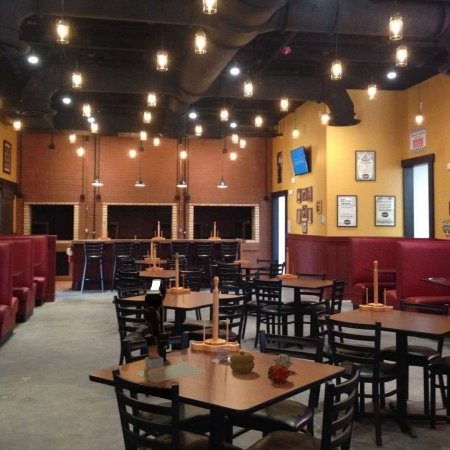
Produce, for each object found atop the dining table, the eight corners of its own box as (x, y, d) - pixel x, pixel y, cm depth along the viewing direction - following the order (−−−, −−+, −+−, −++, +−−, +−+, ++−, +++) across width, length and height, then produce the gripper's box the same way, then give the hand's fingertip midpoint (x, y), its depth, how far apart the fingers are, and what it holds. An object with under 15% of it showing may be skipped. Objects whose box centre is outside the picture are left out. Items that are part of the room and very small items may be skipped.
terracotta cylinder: (146, 357, 242) (146, 346, 242) (156, 355, 244) (156, 345, 245) (152, 359, 238) (151, 348, 238) (161, 357, 240) (161, 346, 241)
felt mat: (131, 373, 246) (131, 372, 246) (182, 364, 263) (182, 363, 263) (154, 383, 228) (154, 382, 228) (207, 372, 245) (207, 371, 245)
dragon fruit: (265, 388, 224) (286, 387, 231) (277, 379, 219) (298, 379, 226) (260, 369, 229) (280, 369, 236) (271, 360, 224) (292, 360, 231)
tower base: (144, 374, 241) (143, 366, 242) (157, 372, 246) (157, 363, 246) (151, 378, 236) (151, 369, 236) (164, 375, 240) (164, 366, 240)
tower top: (145, 366, 241) (145, 357, 242) (156, 364, 245) (156, 355, 245) (151, 368, 237) (151, 359, 237) (163, 366, 240) (163, 357, 240)
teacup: (220, 358, 276) (220, 346, 276) (239, 360, 269) (239, 348, 269) (206, 362, 266) (206, 350, 266) (225, 365, 259) (225, 353, 259)
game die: (283, 379, 245) (277, 365, 240) (274, 369, 252) (268, 355, 247) (298, 368, 247) (293, 354, 242) (289, 359, 255) (283, 344, 250)
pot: (250, 368, 252) (250, 347, 252) (258, 374, 241) (257, 352, 241) (227, 370, 249) (226, 349, 250) (233, 376, 238) (233, 354, 238)
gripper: (128, 318, 244) (129, 352, 244) (148, 323, 229) (148, 359, 229) (149, 316, 251) (150, 349, 250) (170, 321, 236) (170, 355, 235)
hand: (154, 353), depth 241 cm, fingers open, 9 cm apart
